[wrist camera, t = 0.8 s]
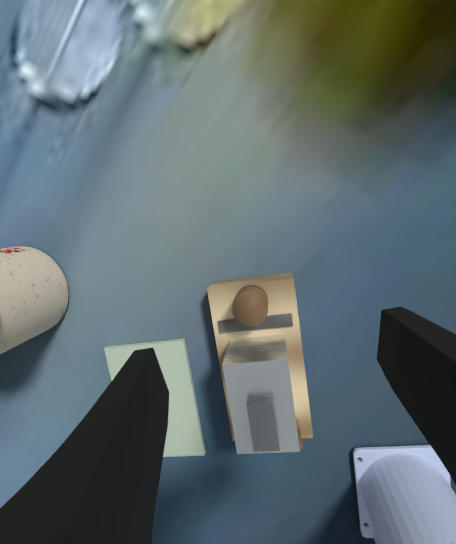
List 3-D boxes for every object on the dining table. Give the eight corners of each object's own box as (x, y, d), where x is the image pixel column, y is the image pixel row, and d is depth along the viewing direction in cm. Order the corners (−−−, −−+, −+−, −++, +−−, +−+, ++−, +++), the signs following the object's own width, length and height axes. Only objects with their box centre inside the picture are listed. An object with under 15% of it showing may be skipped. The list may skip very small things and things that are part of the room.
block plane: (309, 418, 29) (317, 460, 24) (235, 422, 30) (229, 463, 25) (291, 272, 27) (296, 285, 22) (212, 282, 28) (200, 296, 23)
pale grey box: (294, 412, 26) (300, 459, 21) (242, 415, 27) (236, 461, 22) (284, 334, 25) (288, 364, 20) (230, 339, 26) (220, 369, 21)
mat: (205, 451, 31) (204, 455, 30) (131, 454, 32) (129, 458, 32) (184, 338, 29) (183, 340, 29) (106, 346, 30) (104, 348, 30)
